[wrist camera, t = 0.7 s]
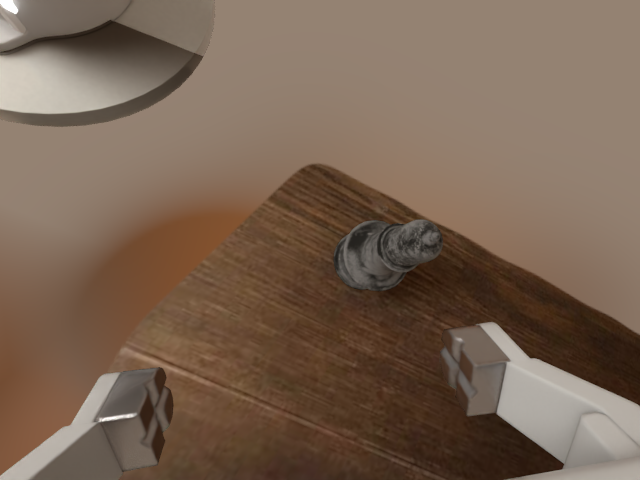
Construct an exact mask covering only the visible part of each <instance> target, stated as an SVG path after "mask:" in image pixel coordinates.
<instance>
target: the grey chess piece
mask: <svg viewBox="0 0 640 480" xmlns="http://www.w3.org/2000/svg"><path fill="white" fill-rule="evenodd" d="M442 246H443V238H442V234H441V232H440V230H439V229H438V228H437V227H436V225H434V224H433V223H432V222H430V221H427V220H414V221H412V222H409V223H407V224H399V223H397V224H392V225H390V224H388V223H386V222H383V221H377V220H372V221H366V222H363V223H361V224H359V225H358V226H356V227H355V228H354V229H353V230H352V231H351V232H350V234H349V235H347V236H345V237H344V238H343V239H342V240H340V242H339V243H338V245H337V246H336V249H335V252H334V266H335V270H336V272H337V274H338V276H339V277H340V278H341V280H342V281H343V282H344V283H346V284H347V285H348V286H350V287H353V288H355V289H369V290H372V291H384V290H389V289H391V288H393V287H395V286H396V285H398V284H399V283H400V282H401V281H402V280H403V278H404V276H405V275H406V273H407V272H408V271H410V270H412V269H414V268H415V267H416V266H417V265H418V264H420V263H424V262H429V261H431V260H433V259H434V258H436V257H437V256H438V255H439V253H440V252H441V250H442Z"/></svg>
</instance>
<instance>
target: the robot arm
mask: <svg viewBox="0 0 640 480" xmlns="http://www.w3.org/2000/svg"><path fill="white" fill-rule="evenodd" d="M130 2H131V0H0V55H7V54H11V53H14V52H17V51H19V50H21V49H24V48H26V47H28V46H30V45H32V44H34V43H36V42H39V41H43V40H50V39H60V38H70V37H76V36H80V35H84V34H88V33H91V32H93V31H96V30H98V29H100V28H102V27H104V26H106V25H108V24H109V23H111V22H112V21H114V20H115V19H116V18H117V17H119V16H120V15H121V14H122V13H123V12H124V10H125V9H126V8H127V7H128V5H129V3H130ZM441 340H442V342H443V343H444V345H445V347H444V348H443V349H442V350H441V351H440V366H441V371H442V373H443V376H444V378H445V380H446V382H447V383H448V385H450V386H452V387H453V388H455V389H456V395H455V397H456V399H457V400H458V402H459V404H460V405H461V407H462V409H463V410H464V412H465V414H466V415H467V416H473V415H480V414H488V413H496V412H497V415H499V416H500V417H501V418H503V419H504V420H505V421H507V422H508V423H509V424H511V425H512V426H513V427H515V428H516V429H518V430H519V431H520V432H522V433H523V434H524V435H526V436H527V437H528V438H530V439H531V440H533V441H534V442H535V443H537V444H538V445H539V446H541V447H542V448H543V449H545V450H546V451H547V452H549V453H550V454H552V455H553V456H554V457H556V458H557V459H558V460H560V461H561V462H562V463H564V466H563V469H562V470H557V471H551V472H545V473H540V474H534V475H528V476H523V477H517V478H511V479H506V480H640V406H639V405H638V404H636V403H634V402H632V401H629V400H627V399H625V398H623V397H620V396H618V395H616V394H614V393H612V392H609V391H607V390H605V389H603V388H601V387H598V386H596V385H594V384H592V383H589V382H587V381H585V380H583V379H581V378H578V377H576V376H574V375H572V374H569V373H567V372H565V371H563V370H561V369H558V368H556V367H554V366H552V365H550V364H547V363H545V362H543V361H541V360H538V359H536V358H533V359H530V358H529V357H528V356H527V355H526V354H525V353H524V352H523V351H522V350H521V349H520V347H519V346H518V345H517V344H516V343H515V342H514V341H513V340H512V339H511V338H510V337H509V336H508V335H507V334H506V333H505V332H504V331H503V330H502V329H501V328H500V327H499V326H498V325H497V324H496V323H494V322H488V323H482V324H476V325H471V326H464V327H456V328H449V329H444V331H443V333H442V338H441ZM165 381H166V375H165V372H164V370H163V369H162V368H160V367H159V368H150V369H141V370H132V371H123V372H117V373H108V374H104V375H103V376H101V377H100V378H99V379H98V381H97V382H96V384H95V385H94V387H93V389H92V390H91V392H90V394H89V395H88V397H87V399H86V401H85V402H84V404H83V405H82V407H81V409H80V410H79V412H78V414H77V415H76V417H75V419H74V420H73V422H72V424H71V425H70V426H66V427H63V428H62V429H60V430H59V431H58V432H56V433H55V434H54V435H53V436H51V437H50V438H49V439H47V440H46V441H45V442H43V443H42V444H41V445H40V446H38V447H37V448H36V449H34V450H33V451H32V452H30V453H29V454H28V455H27V456H25V457H24V458H23V459H21V460H20V461H19V462H17V463H16V464H15V465H14V466H12V467H11V468H10V469H8V470H7V471H6V472H4V473H3V474H2V475H0V480H118V479H119V478H120V477H121V475H122V474H123V472H124V471H129V470H135V469H140V468H145V467H151V466H156V465H158V462H159V459H160V455H161V452H162V449H163V446H164V443H165V439H164V437H163V434H162V433H163V432H164V431H165V430H166V429H167V428H168V427H169V426H170V423H171V419H172V415H173V397H172V393H171V390H170V389H169V388H167V387H166V386H164V384H165Z"/></svg>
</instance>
